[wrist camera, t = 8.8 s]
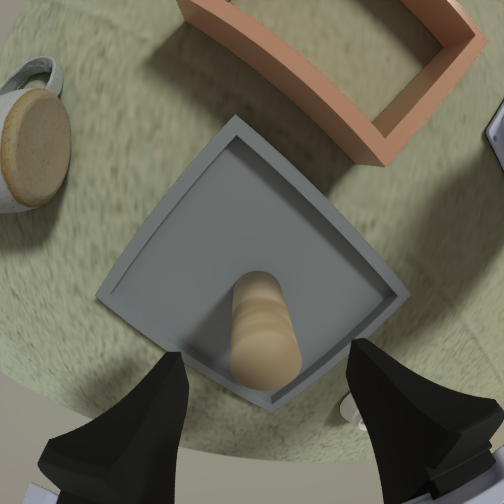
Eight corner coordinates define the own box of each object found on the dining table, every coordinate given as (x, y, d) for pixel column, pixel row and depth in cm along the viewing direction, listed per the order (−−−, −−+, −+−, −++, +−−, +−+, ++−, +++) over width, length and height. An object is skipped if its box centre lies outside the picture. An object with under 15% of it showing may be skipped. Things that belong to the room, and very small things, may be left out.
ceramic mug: (79, 200, 16) (1, 227, 9) (3, 204, 16) (-66, 228, 8) (91, 49, 13) (26, 9, 6) (11, 75, 13) (-55, 61, 5)
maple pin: (290, 290, 18) (316, 361, 11) (258, 321, 19) (267, 399, 12) (255, 260, 17) (265, 324, 11) (223, 294, 18) (215, 368, 11)
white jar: (393, 396, 23) (379, 370, 22) (404, 416, 20) (391, 392, 19) (350, 421, 24) (330, 399, 23) (358, 442, 21) (338, 423, 20)
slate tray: (401, 285, 19) (411, 294, 18) (270, 400, 22) (272, 413, 20) (235, 118, 15) (235, 114, 14) (103, 286, 18) (94, 295, 17)
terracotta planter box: (456, 52, 13) (488, 41, 10) (355, 164, 16) (385, 167, 12) (322, -67, 10) (334, -95, 6) (185, 20, 13) (171, -10, 9)
